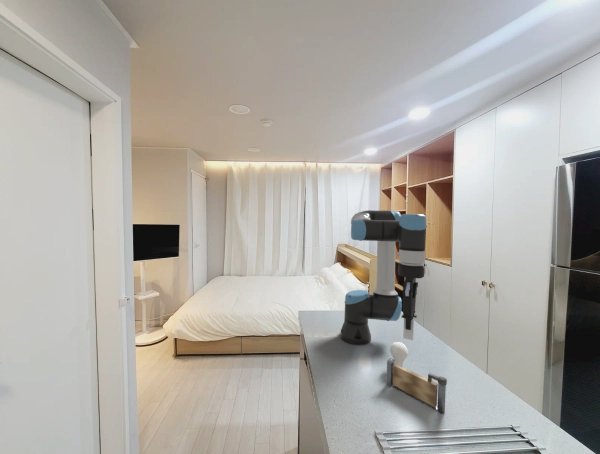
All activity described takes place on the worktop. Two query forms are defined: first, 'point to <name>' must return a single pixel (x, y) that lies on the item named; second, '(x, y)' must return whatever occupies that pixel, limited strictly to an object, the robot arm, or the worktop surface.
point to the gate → (417, 384)
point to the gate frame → (441, 395)
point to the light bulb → (398, 352)
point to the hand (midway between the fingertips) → (408, 338)
